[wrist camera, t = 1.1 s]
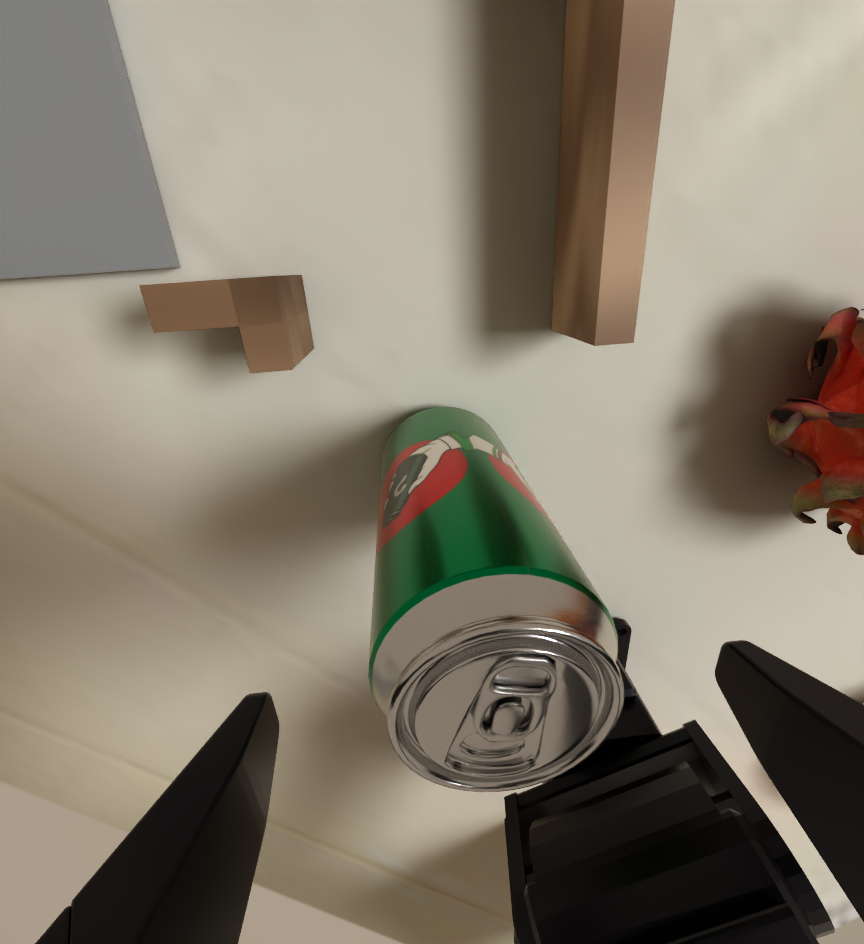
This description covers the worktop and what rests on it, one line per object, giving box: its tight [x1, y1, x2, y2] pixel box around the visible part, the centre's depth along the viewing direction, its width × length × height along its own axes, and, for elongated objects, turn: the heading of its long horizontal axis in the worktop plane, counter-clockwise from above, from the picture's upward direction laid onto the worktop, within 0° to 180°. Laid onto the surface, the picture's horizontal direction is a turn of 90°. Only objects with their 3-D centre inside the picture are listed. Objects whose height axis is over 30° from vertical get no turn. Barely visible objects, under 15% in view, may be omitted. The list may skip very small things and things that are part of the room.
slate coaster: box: [0, 0, 180, 280], centre depth 13 cm, size 7×7×1 cm
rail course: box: [139, 0, 675, 373], centre depth 12 cm, size 13×14×4 cm
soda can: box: [368, 407, 624, 792], centre depth 13 cm, size 5×5×12 cm
